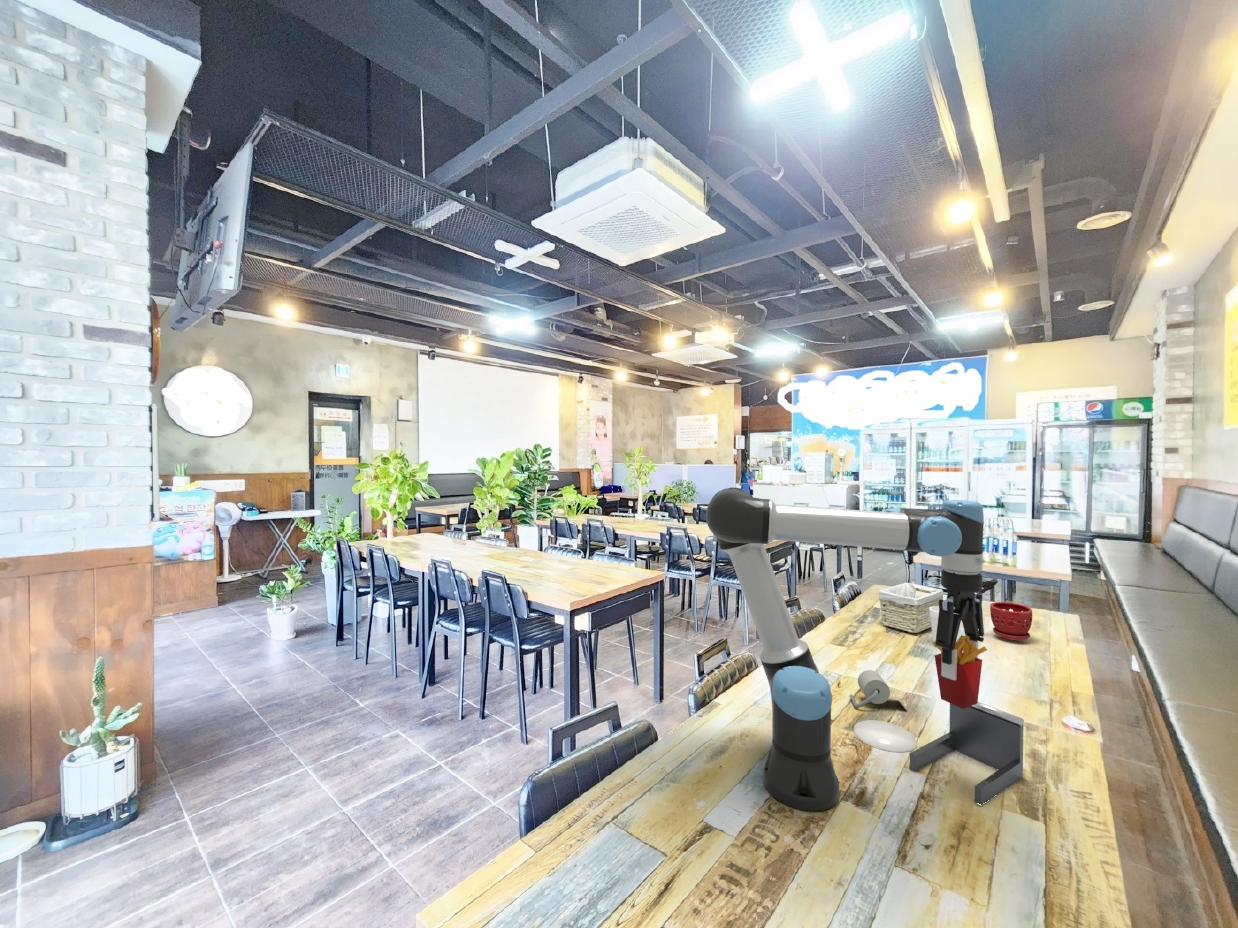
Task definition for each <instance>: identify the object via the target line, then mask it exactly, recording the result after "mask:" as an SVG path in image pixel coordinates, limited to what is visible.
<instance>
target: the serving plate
mask: <svg viewBox="0 0 1238 928" xmlns="http://www.w3.org/2000/svg"><path fill="white" fill-rule="evenodd" d="M853 728H854V729H853V732H854V735H855V736H856V737H857V738H858V739H859V740H860V741H861V742H863V743H865V744H866V745H868V746H871V747H873V748H875V749H878V750H881V751H885V752H890V753H899V754H900V753H909V752H910V753H911V752H913V751H915V750H916V748H917V746H918V741H917V739H916V737H915V736H914V734H913V733H911V732H910V731H908V730H907V729H906V728H903V727H901V726H900V725H897V724H894V723H891V722H888V721H882V720H876V719H875V720H874V719H868V720H866V719H865V720H862V721H859V722H857V723H855V725H854V727H853Z"/></svg>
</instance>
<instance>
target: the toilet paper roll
mask: <svg viewBox="0 0 1238 928" xmlns="http://www.w3.org/2000/svg"><path fill="white" fill-rule="evenodd" d="M857 684H858V686H859V688H860V690H861V692H862V693H863V695H864V697H865V699H864V700H862V701H861V702H860V703H858V702H857V700H856V699H855V696H854V695H853V694H850V695H849V697H850V700H851V702H852V705H853V706H854V708H855V709H860V708H862V707H864V706H865V705H867V704H868V703H872V704H875V705H881V704H884V703H886V702H887V701H888V700H889V698H890V696H891V692H892V694H893V695H894V697H896V700H898V701H899V703H900V704H901V705H903V703H902V702H901V701H900V699H899V697H897V696H896V694H895V693H894V692H893V689H891V688H890V686H889V685H888V684H887V683H886V681H885V680H884V679H883V678H882V676H881V675H880V674H879V673H878V672H877V671H875V670H871V669H868V670H864V671H861V673H860V674H859V675H858V677H857ZM903 708H904V709H906V707H905V706H903Z"/></svg>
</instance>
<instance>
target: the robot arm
mask: <svg viewBox="0 0 1238 928" xmlns="http://www.w3.org/2000/svg"><path fill="white" fill-rule="evenodd" d="M984 517H985V516H984V508H983V505H982V504H981V503H980V502H978V501H975V500H974V501H973V500H965V499H964V500H962V499H961V500H960V499H947V500H944V501H942V506H941V508H937V509H936V508H935V509H933V508H932V509H930V508H929V509H928V508H908V507H907V508H904V507H897V508H896V507H894V508H891V507H890V508H886V509H885V510H884V511H876V510H860V509H846V508H830V507H817V506H816V507H815V506H803V505H788V504H787V505H786V504H776V503H775V502H774V501H773V500H772V499H771V498H769V499H768V498H760V497H759V498H758V497H754V496H753V495H752V494H751V493H750V492H749V491H747V490H746V489H744V488H743V489H742V488H740V487H727V488H724V489H721V490H719V491H717V492H716V493H715V494H714V495H713V496H712V498H711V499H710V501H709V503H708V505H707V508H706V512H705V520H706V523H707V527H708V529H709V530H710V532H711V533H712V534H713V535H714V536H715V538H716V540H717V541H716V542H717V543H718V547H719V549H720V551H722V552H724V553H726V554H727V555H729V557H730V561H731V564H732V566H733V568H734V571H735V574H736V577H737V580H738V583H739V585H740V588H741V591H742V594H743V596H744V600H745V603H746V604H747V608H748V610H749V612H750V615H751V618H752V621H753V624H754V626H755V629H756V633H757V635H758V638H759V641H760V643H761V647H762V651H761V653H760V654H759V658H760V662H761V665H762V668H763V670H764V673H765V677H766V679H767V681H768V684H769V689H770V698H771V707H772V711H771V712H772V717H771V718H772V719H771V720H772V723H771V724H772V725H771V727H772V730H771V731H772V732H771V735H772V738H771V739H772V741H771V742H772V744H771V747H770V750H769V753H768V756H767V758H766V761H765V764H764V767H763V784H764V785H763V786H764V787H765V789H766V790H767V792H768V793H769V794H770V795H771V796H772V797H773V798H775V799H776V800H778V801H779V802H781V803H782V804H785V805H786V806H789V807H792V808H793V809H794V808H795V809H798V810H802V811H809V812H810V811H811V812H819V811H825V810H828V809H831V808H832V807H834V806H835V805H836V804H838V802H839V800H840V781H839V779H838V776H837V774H836V770H835V767H834V766H835V765H834V763H833V760H832V756H831V754H832V753H831V751H832V750H831V748H832V747H831V740H832V739H831V738H832V737H831V736H832V729H831V728H832V705H833V704H832V703H833V694H832V692H831V691H832V690H831V685H830V683H829V681H828V680H827V679H826V677H825V676H824V675H823V674H821V673H820V672H819V669H818V666H817V664H816V663H815V661H814V659H813V655H812V653H811V651H810V648H809V645H808V643H807V642H806V641H804V640H802V639H800V638H799V636H798V634H797V631H796V628H795V626H794V622H793V619H792V618H791V615H790V613H789V612H790V611H789V609H788V606H787V604H786V601H785V599H784V595H783V593H782V591H781V588H780V585H779V582H778V580H777V576H776V574H775V572H774V568H773V565H772V563H771V560H770V557H769V555H768V551H767V549H766V546H765V545H770V544H771V543H772V542H773V541H784V542H785V541H786V542H796V543H810V544H819V545H820V544H824V545H836V546H848V547H849V546H850V547H858V548H859V547H862V548H874V549H885V550H897V551H898V550H899V551H908V552H918V553H919V552H920V553H926V554H927V555H930V556H934V557H940V558H941V559H940V560H941V561H940V562H941V564H940V567H941V568H942V570H941V571H940V572H941V573H940V575H941V576H940V585H941V587H942V588H944V589H946V590H947V595H946V599H943V600H941V599H940V600H939V616H938V625H937V633H936V642H935V644H936V645H937V646H940V647H942V665H941V676H943V677H946V678H949V679H951V680H954V681H955V680H956V679H957V650H956V649H954V648H955V644H956V642H957V640H958V635H959V631H960V627H961V623H962V627H963V631H964V636H965V635H967V636H968V637H970V638H969V642H973V644H974V648H975V647H976V648H978V649H979V643H980V642H981V643H983V642H984V640H985V638H984V636H985V629H984V617H983V615H984V613H983V605H982V604H983V594H982V593H979V592H982V590H983V575H982V574H981V572H982V571H983V564H984V563H985V559H983V552H984V550H983V546H984V545H983V544H984V543H983V542H984V525H985V521H984V519H985V518H984ZM954 613H955V614H954ZM958 614H959V615H958ZM962 652H963V653H964V648H963V651H962ZM976 658H979V655H977V657H976Z"/></svg>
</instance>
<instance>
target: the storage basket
mask: <svg viewBox="0 0 1238 928" xmlns="http://www.w3.org/2000/svg"><path fill="white" fill-rule="evenodd" d="M916 592H921V593H925V595H923V596H922V595H917V594H916ZM878 599H879V605H880V606H879V607H880V615H881V624H882V625H884V626H887V627H891V628H895V629H897V630H900V631H904V632H905V631H906V632H908V633H914V634H917V633H921V632H923V631H925V630H927V629H929V628H930V629H931V628H932V627H931V620H930V615H929V608H930V607H934V606H939V600H940V599H941V600H944V590H943V589H941V588H936V587H931V586H927V585H922V584H918V583H911V582H904V583H899V584H897V585H893V586H891V587H885V588H882V589H880V590H878Z"/></svg>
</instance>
